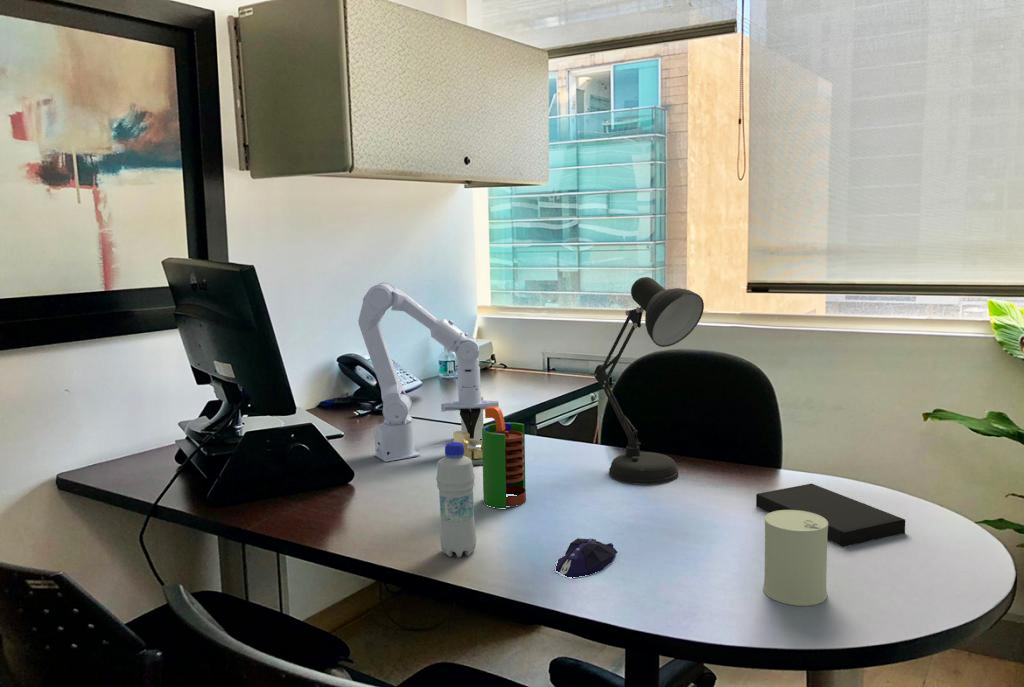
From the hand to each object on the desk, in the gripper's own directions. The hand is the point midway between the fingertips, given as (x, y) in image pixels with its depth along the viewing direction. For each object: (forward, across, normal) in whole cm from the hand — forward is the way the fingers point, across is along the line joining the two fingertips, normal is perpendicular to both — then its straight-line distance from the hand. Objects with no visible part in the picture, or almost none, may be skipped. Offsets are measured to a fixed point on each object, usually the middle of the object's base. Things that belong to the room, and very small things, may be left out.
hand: (471, 437), depth 205 cm
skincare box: (+4, 0, -15) cm, 15 cm away
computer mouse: (+5, -23, +69) cm, 73 cm away
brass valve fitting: (+2, 0, +5) cm, 5 cm away
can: (+4, -54, +83) cm, 99 cm away
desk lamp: (+4, -41, +23) cm, 47 cm away
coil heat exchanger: (+4, -9, +38) cm, 39 cm away
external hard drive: (+5, -70, +53) cm, 88 cm away
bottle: (+4, -1, +64) cm, 64 cm away
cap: (+4, -1, +5) cm, 7 cm away
